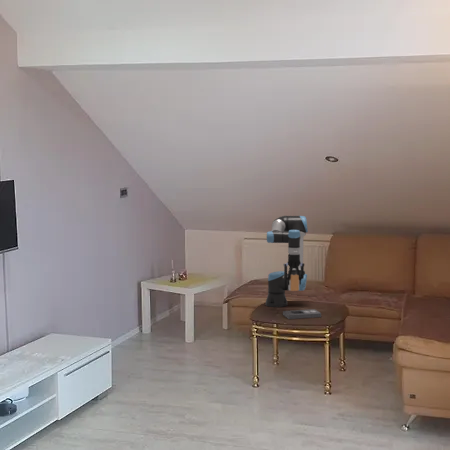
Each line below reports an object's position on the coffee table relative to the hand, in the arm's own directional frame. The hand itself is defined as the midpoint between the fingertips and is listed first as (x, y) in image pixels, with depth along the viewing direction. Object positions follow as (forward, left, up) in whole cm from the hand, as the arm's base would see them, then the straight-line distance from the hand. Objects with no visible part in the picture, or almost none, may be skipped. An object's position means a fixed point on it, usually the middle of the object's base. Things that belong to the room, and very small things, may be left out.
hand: (293, 289), depth 444 cm
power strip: (+1, +5, -17) cm, 18 cm away
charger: (0, 0, 0) cm, 0 cm away
